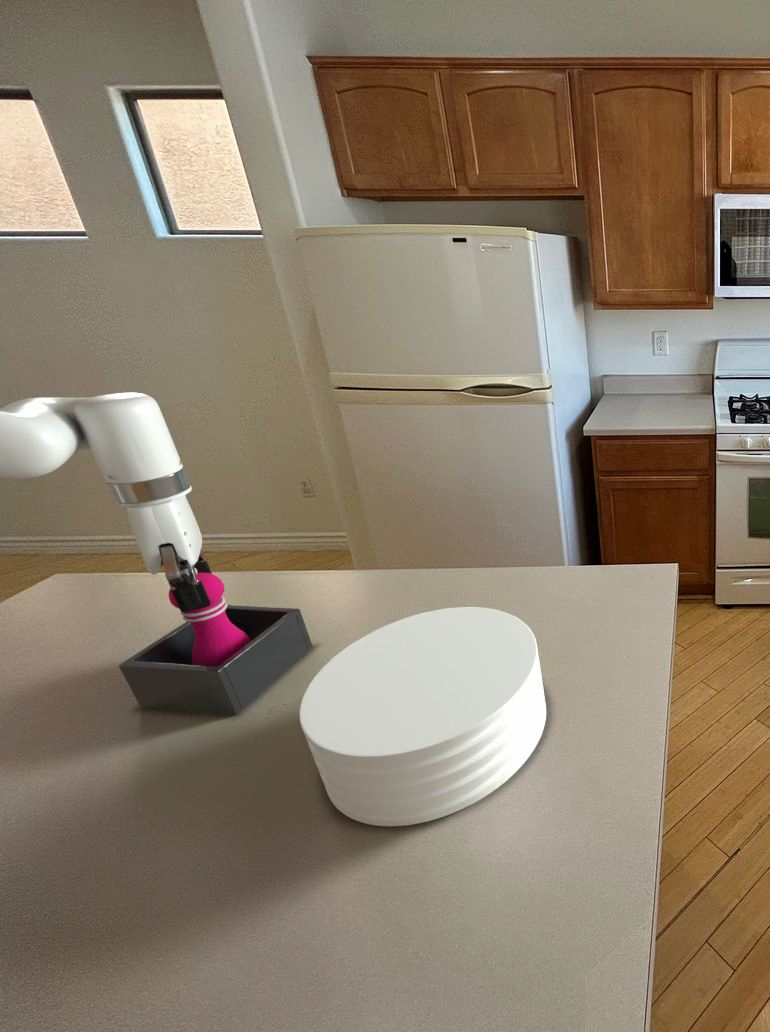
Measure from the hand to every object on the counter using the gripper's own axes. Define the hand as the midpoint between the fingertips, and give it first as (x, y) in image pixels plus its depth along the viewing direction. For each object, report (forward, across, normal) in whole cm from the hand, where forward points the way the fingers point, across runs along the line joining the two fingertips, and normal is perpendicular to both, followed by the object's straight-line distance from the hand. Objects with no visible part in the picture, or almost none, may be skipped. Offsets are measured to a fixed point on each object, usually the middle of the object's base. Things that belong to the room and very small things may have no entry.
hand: (199, 596), depth 82 cm
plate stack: (+15, +31, +25) cm, 43 cm away
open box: (+15, 0, 0) cm, 15 cm away
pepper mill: (+15, 0, 0) cm, 15 cm away
